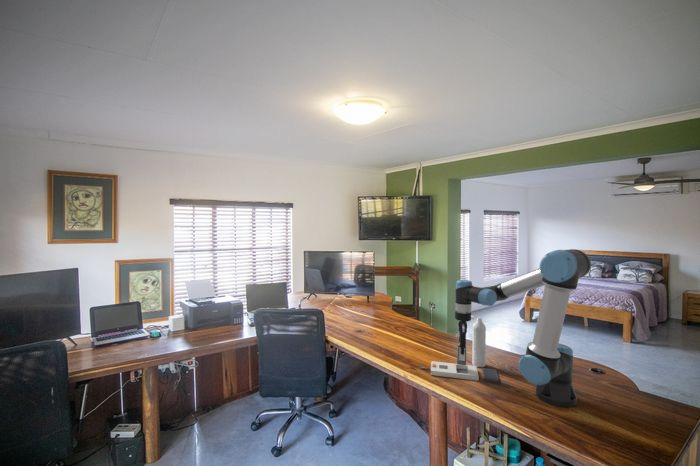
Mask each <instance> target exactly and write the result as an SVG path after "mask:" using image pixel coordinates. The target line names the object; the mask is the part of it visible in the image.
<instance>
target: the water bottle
mask: <svg viewBox="0 0 700 466" xmlns="http://www.w3.org/2000/svg"><path fill="white" fill-rule="evenodd" d="M471 319H475V315H471ZM486 331H487V328H486V325H485V324H484V322H483V319H482V317H480V316H479V317H476V321H475V322H474V323H473V324H472V343H471V344H472V346H471V347H472V352H471V355H472V356H471V358H472V359H471V364H472V365H471V366H476V368H485V367H486V342H487V341H486V338H487V337H486V334H487V333H486Z"/></svg>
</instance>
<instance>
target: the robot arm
mask: <svg viewBox="0 0 700 466" xmlns="http://www.w3.org/2000/svg"><path fill="white" fill-rule="evenodd" d="M591 269H592V262H591V258H590V257H589V256H588V254H587V253H585V252H584V251H582V250H580V249H575V248H574V249H573V248H572V249H557V250H552V251H550V252H548V253H545V254H544V255H543V257H542V258H541V260H540V263H539V268H537V269H536V268H535V269H534V270H531V271H528V272H526V273H524V274H521V275H518V276H515V277H514V278H511V279H508V280H505V281H502V282H501V283H498V284H495V285H491V286H490V285H489V286H484V287H483V286H482V287H480V286H475V285H473V282H472V281H471V280H467V279H458V280H457V281H456V282H455V304H453V306H454V308H455V312H454V319H455V320H456V321H458V345H457V346H458V347H459V360H461V361H465V348H466V349H467V346H466V345H467V332H468V331H467V329H468V323H467V322H471V320H472V318H471V316H472V313H471V312H472V303H476V304H478V305H483V306H487V307H488V306H489V307H491V306H494V304H495V303H496V302H499V301H506V300H507V299H510V298H511V297H514V296H518V295H521V294H524V293H526V292H529V291H532V290H535V289H538V288H541V287H544V289H543V294H542V298H541V303H540V306H539V312H538V317H537V320H536V323H535V324H536V325H535V330H534V334H533V338H532V341H531V342H529V343H527V346H526V351H525V354H524V355H521V357H520V358H519V360H518V368H519V371H520V373H521V375H522V377H523V378H524V379H525V380H526V381H528V382H529V383H531V384H532V385H536V386H535V389H534V390H535V392H534V393H535V394H534V395H535V396H536V397H537V398H538V399H539V400H541V401H542V402H544V403H546V404H549V405H553V406H557V407H562V408H571V407H575V406H577V405H578V397H577V394H576V391H575V388H574V384H573V371H574V370H573V367H574V366H573V365H574V364H573V362H574V354H573V353H574V352H573V349H572V348H571V347H570V346H568V345H565V344H562V343H559V342H560V338H561V334H562V329H563V327H564V321H565V318H566V314H567V308H568V305H569V300H570V296H571V293H572V292H573V291H576V290H577V288H578V283H579V279H582V278H583V277H586V275H588V274H589V272H590V271H591Z"/></svg>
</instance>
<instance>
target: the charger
mask: <svg viewBox="0 0 700 466" xmlns="http://www.w3.org/2000/svg"><path fill="white" fill-rule="evenodd" d="M456 346H457V349H456V351H457V353H456V364H458V365H467V347H466V348H465V361H461V360H459V347H458V346H459V345H456Z"/></svg>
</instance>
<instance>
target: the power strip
mask: <svg viewBox="0 0 700 466" xmlns="http://www.w3.org/2000/svg"><path fill="white" fill-rule="evenodd" d="M477 368H478V367H476V366H474V365H471V364H466V365H458V364H457V363H451V362H444V361H441V362H440V361H434V360H431V363H430V367H427V366H425V367H424V366H420V367H419V369H420V370H428V371H430V375H431V376H437V377H444V378H454V379H460V380H469V381H470V380H471V381H477V382H479V378H480V376H479V372H478V369H477Z"/></svg>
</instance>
